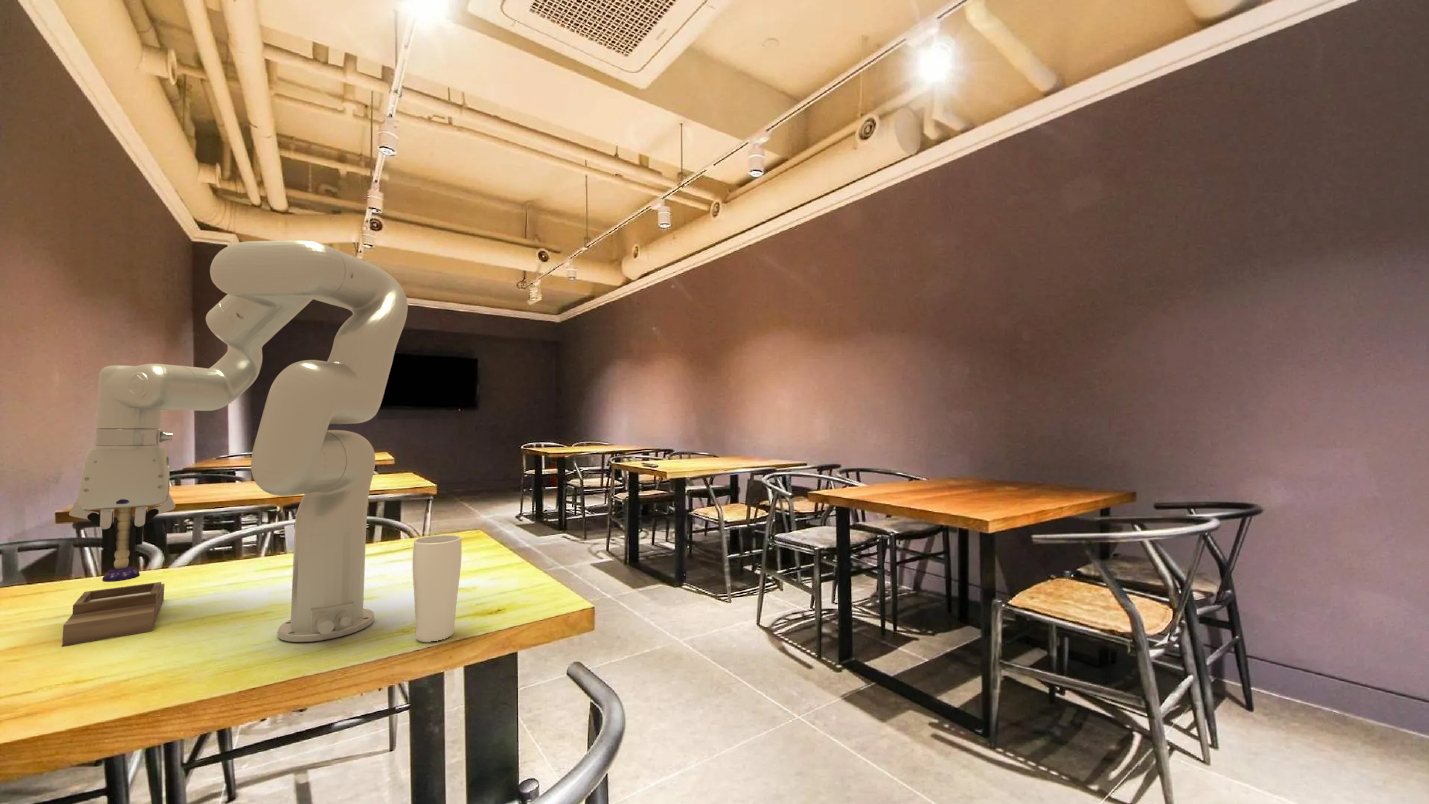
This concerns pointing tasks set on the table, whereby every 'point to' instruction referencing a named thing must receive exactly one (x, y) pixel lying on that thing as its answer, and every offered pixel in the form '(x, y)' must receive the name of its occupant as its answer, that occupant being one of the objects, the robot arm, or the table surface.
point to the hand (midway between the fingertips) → (122, 550)
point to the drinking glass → (436, 585)
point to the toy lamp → (122, 548)
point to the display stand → (113, 613)
